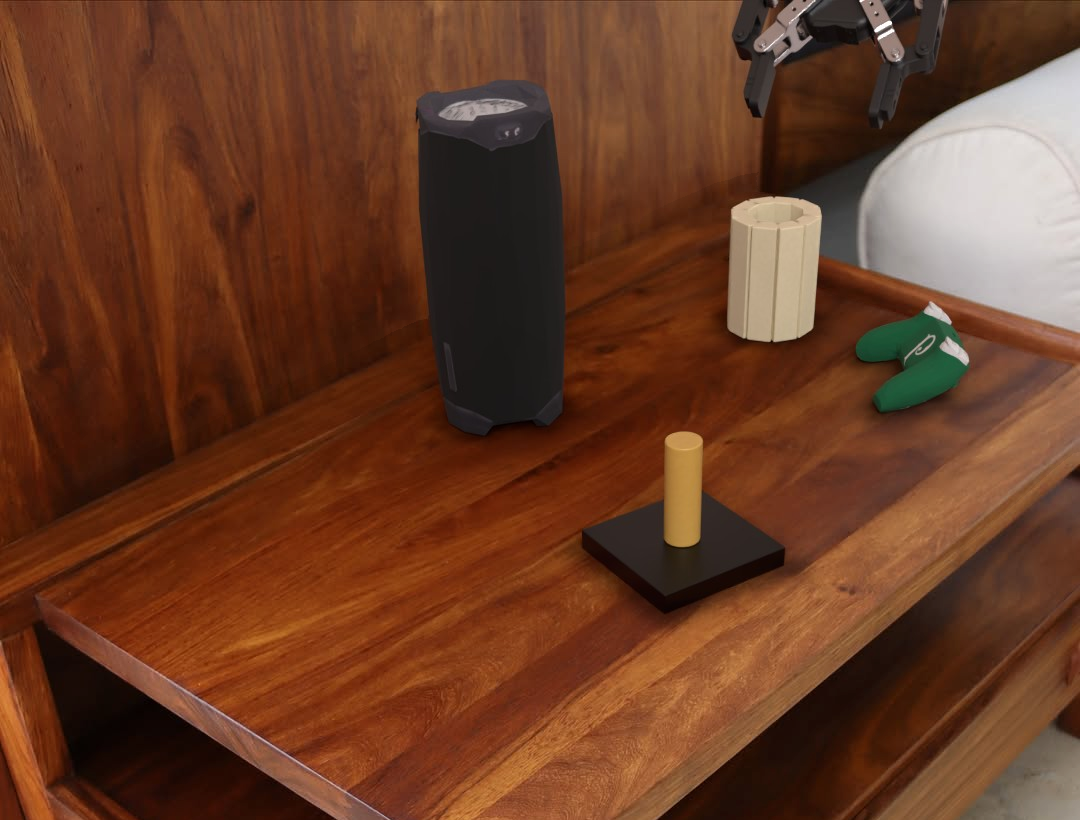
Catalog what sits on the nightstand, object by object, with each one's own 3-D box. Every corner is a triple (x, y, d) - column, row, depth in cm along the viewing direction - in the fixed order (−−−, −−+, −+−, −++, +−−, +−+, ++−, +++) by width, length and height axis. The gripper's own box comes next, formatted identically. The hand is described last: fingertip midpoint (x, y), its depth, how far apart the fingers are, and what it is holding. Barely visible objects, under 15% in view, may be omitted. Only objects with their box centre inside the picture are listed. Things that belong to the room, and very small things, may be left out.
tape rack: (696, 504, 85) (699, 391, 80) (784, 565, 79) (792, 447, 75) (581, 547, 82) (578, 432, 77) (664, 614, 76) (665, 494, 72)
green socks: (907, 442, 93) (985, 379, 90) (870, 404, 91) (947, 339, 89) (884, 378, 100) (955, 318, 97) (848, 342, 99) (919, 280, 96)
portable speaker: (536, 368, 100) (522, 66, 87) (592, 426, 93) (586, 107, 81) (418, 395, 97) (387, 87, 85) (467, 455, 91) (441, 131, 78)
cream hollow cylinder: (775, 299, 107) (781, 189, 102) (831, 327, 103) (840, 214, 98) (709, 320, 105) (712, 209, 100) (763, 350, 100) (769, 235, 95)
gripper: (765, -139, 102) (705, 81, 101) (971, -134, 97) (911, 97, 96) (783, -70, 109) (727, 136, 108) (976, -62, 104) (920, 154, 103)
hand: (814, 117), depth 102 cm, fingers open, 8 cm apart
